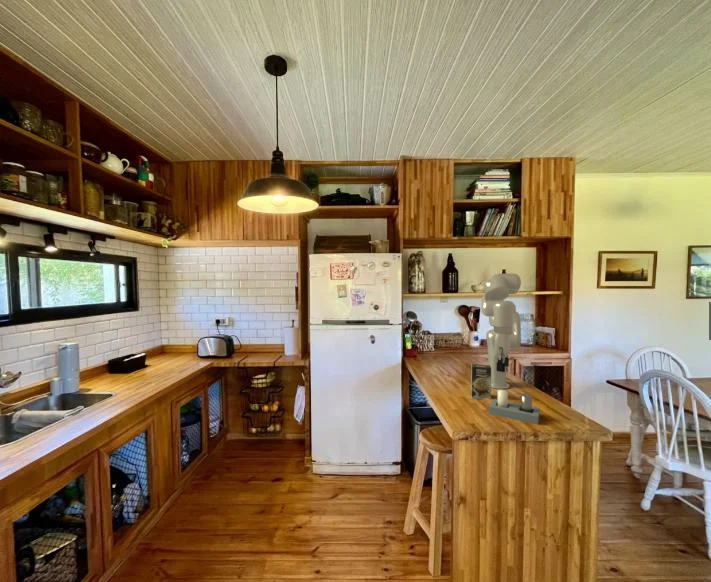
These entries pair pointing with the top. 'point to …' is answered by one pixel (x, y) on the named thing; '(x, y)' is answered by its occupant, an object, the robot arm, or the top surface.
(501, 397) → the cream rounded smooth part
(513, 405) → the block
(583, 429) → the top surface
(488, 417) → the top surface
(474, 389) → the coffee box
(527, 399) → the metal cylinder peg
